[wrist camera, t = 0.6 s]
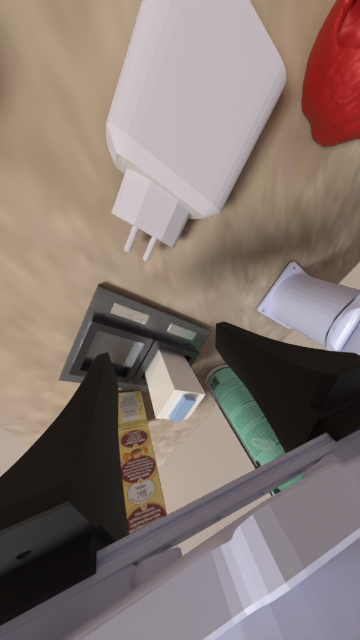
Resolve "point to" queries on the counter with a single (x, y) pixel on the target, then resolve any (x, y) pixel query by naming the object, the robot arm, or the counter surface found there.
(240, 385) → the spray can
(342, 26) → the pomegranate
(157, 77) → the charger
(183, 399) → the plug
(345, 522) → the robot arm
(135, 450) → the candy box
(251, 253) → the counter surface
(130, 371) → the dark grey compartment tray
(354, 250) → the counter surface
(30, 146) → the counter surface
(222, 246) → the counter surface
